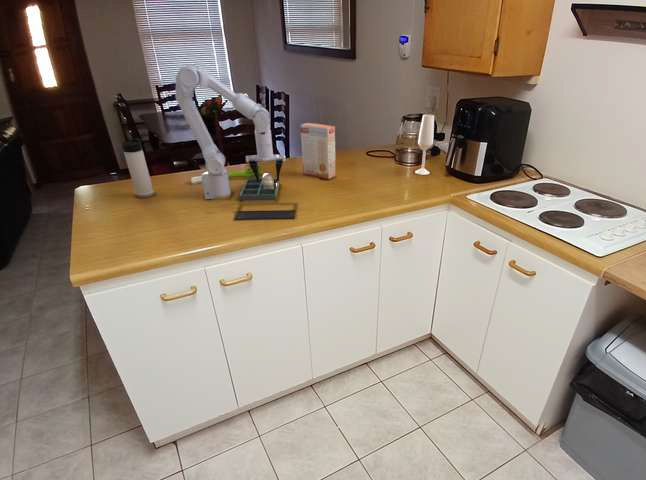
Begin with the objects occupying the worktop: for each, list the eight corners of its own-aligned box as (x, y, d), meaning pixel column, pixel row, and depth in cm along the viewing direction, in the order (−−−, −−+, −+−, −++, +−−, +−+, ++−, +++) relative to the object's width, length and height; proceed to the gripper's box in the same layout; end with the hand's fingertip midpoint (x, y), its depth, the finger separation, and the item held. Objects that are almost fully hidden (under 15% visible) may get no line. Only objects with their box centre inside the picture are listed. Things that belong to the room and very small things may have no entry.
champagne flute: (413, 173, 183) (418, 116, 170) (417, 169, 189) (422, 113, 175) (427, 175, 181) (434, 117, 168) (431, 171, 187) (438, 114, 173)
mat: (235, 219, 138) (234, 218, 137) (241, 204, 149) (241, 203, 149) (294, 218, 139) (294, 217, 139) (295, 203, 151) (295, 202, 150)
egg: (262, 193, 157) (260, 175, 153) (264, 189, 161) (262, 171, 157) (274, 193, 158) (272, 175, 154) (275, 189, 161) (273, 171, 157)
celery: (194, 184, 172) (265, 175, 177) (193, 192, 167) (266, 182, 171) (190, 171, 168) (262, 161, 172) (189, 178, 163) (263, 168, 167)
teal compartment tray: (240, 202, 151) (239, 195, 149) (247, 185, 167) (246, 178, 166) (276, 202, 152) (275, 194, 150) (279, 185, 168) (279, 178, 166)
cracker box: (336, 176, 178) (335, 125, 167) (328, 180, 174) (327, 128, 162) (310, 171, 184) (308, 121, 173) (302, 174, 180) (299, 124, 168)
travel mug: (158, 193, 158) (144, 139, 147) (145, 199, 153) (129, 143, 142) (146, 191, 160) (132, 137, 149) (133, 196, 155) (116, 141, 144)
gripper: (242, 146, 145) (247, 184, 153) (283, 146, 146) (286, 183, 154) (245, 142, 151) (250, 178, 159) (284, 141, 152) (287, 177, 160)
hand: (268, 180), depth 157 cm, fingers open, 7 cm apart
